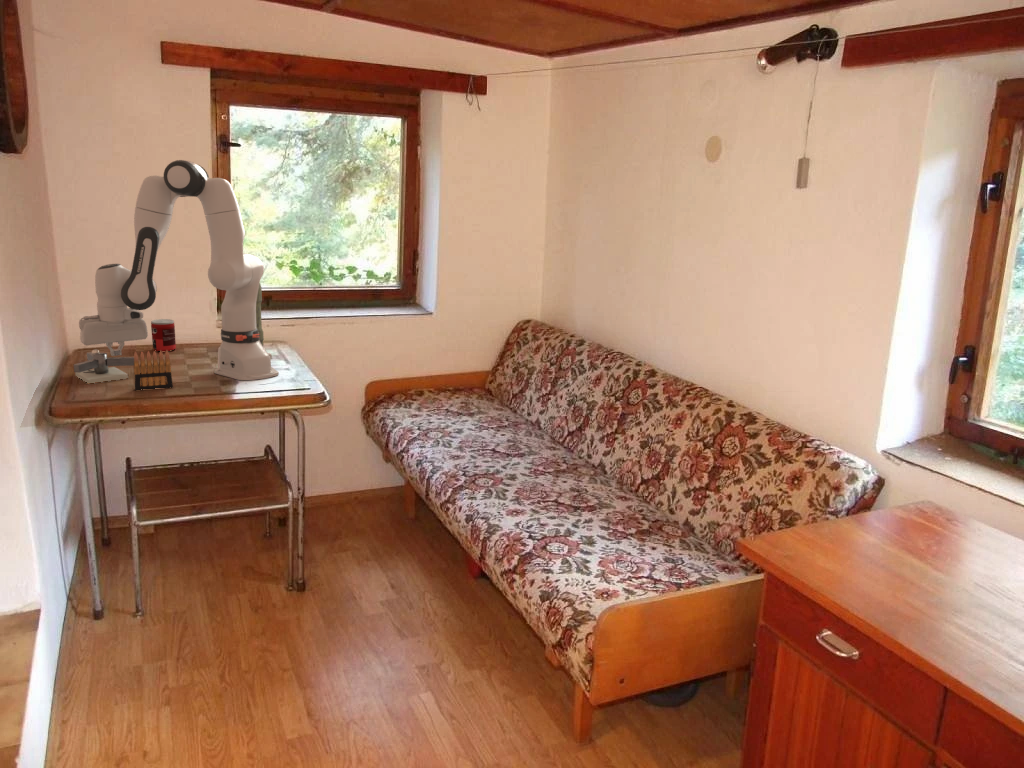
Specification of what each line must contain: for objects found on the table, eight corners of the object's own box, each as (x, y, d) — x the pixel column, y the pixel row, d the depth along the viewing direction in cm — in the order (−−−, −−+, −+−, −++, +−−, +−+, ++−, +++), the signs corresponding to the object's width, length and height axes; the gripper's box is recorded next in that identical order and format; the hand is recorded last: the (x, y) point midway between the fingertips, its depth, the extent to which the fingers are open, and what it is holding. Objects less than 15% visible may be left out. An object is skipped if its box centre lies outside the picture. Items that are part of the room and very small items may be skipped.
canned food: (156, 347, 304) (154, 318, 301) (178, 348, 305) (176, 319, 302) (150, 352, 297) (147, 322, 294) (172, 352, 298) (170, 323, 295)
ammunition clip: (172, 386, 254) (169, 349, 251) (173, 387, 253) (170, 350, 250) (134, 389, 249) (131, 351, 246) (135, 390, 248) (132, 352, 245)
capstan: (137, 371, 262) (136, 351, 261) (76, 380, 250) (74, 358, 248) (120, 362, 273) (118, 342, 272) (60, 369, 261) (58, 349, 259)
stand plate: (128, 378, 261) (127, 373, 260) (88, 384, 252) (87, 379, 252) (115, 371, 269) (114, 366, 268) (75, 376, 261) (75, 371, 260)
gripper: (81, 318, 256) (85, 361, 259) (148, 312, 270) (150, 353, 273) (75, 315, 260) (79, 357, 264) (140, 309, 274) (143, 349, 278)
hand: (116, 355), depth 269 cm, fingers closed
